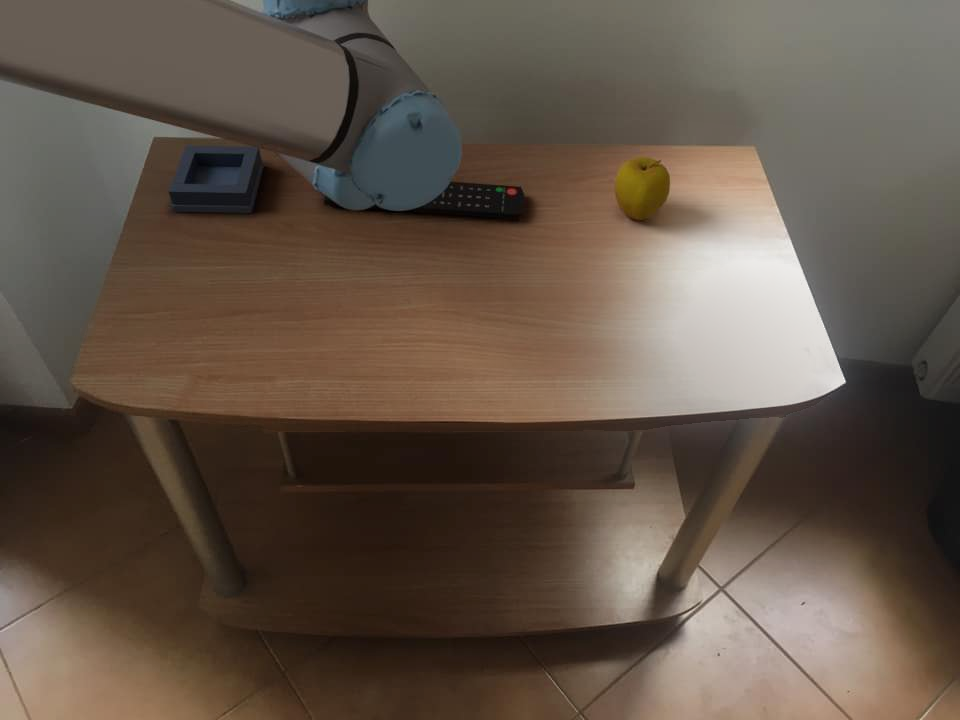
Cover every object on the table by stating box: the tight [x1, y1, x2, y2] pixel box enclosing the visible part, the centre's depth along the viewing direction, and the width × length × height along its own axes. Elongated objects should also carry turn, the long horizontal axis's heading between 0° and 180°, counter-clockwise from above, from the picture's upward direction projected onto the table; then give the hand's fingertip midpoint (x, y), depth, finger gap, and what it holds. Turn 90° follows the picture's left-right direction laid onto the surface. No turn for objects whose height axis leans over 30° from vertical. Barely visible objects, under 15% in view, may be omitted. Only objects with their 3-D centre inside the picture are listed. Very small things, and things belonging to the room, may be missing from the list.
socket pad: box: [168, 144, 265, 214], centre depth 95 cm, size 9×9×3 cm
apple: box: [614, 157, 671, 221], centre depth 93 cm, size 6×6×8 cm
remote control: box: [323, 181, 526, 220], centre depth 96 cm, size 5×24×1 cm, turn 86°
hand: (150, 1), depth 83 cm, fingers closed on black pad, 4 cm apart
